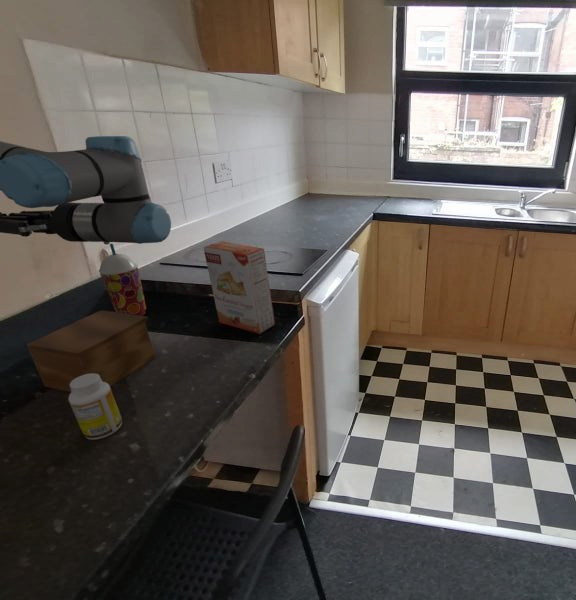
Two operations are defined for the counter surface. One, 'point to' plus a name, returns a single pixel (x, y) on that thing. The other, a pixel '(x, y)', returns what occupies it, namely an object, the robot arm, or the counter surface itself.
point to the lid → (87, 333)
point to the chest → (96, 360)
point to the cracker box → (240, 286)
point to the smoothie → (123, 283)
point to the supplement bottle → (94, 406)
